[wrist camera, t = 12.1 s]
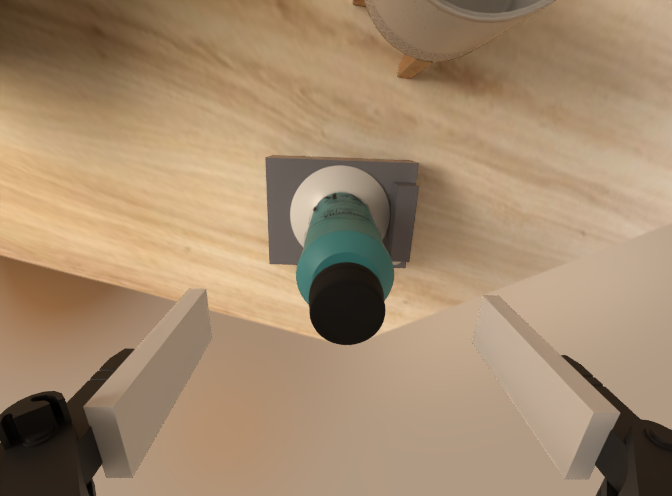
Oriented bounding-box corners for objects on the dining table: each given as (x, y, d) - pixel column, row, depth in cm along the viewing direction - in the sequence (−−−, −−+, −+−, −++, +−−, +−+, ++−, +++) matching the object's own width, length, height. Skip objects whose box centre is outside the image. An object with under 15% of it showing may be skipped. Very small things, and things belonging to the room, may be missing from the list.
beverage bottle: (374, 237, 35) (425, 356, 16) (317, 250, 35) (302, 380, 17) (363, 180, 33) (406, 241, 14) (303, 194, 33) (265, 272, 14)
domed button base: (275, 251, 40) (264, 274, 33) (272, 155, 36) (259, 159, 29) (398, 255, 40) (411, 279, 34) (409, 160, 36) (426, 165, 30)
